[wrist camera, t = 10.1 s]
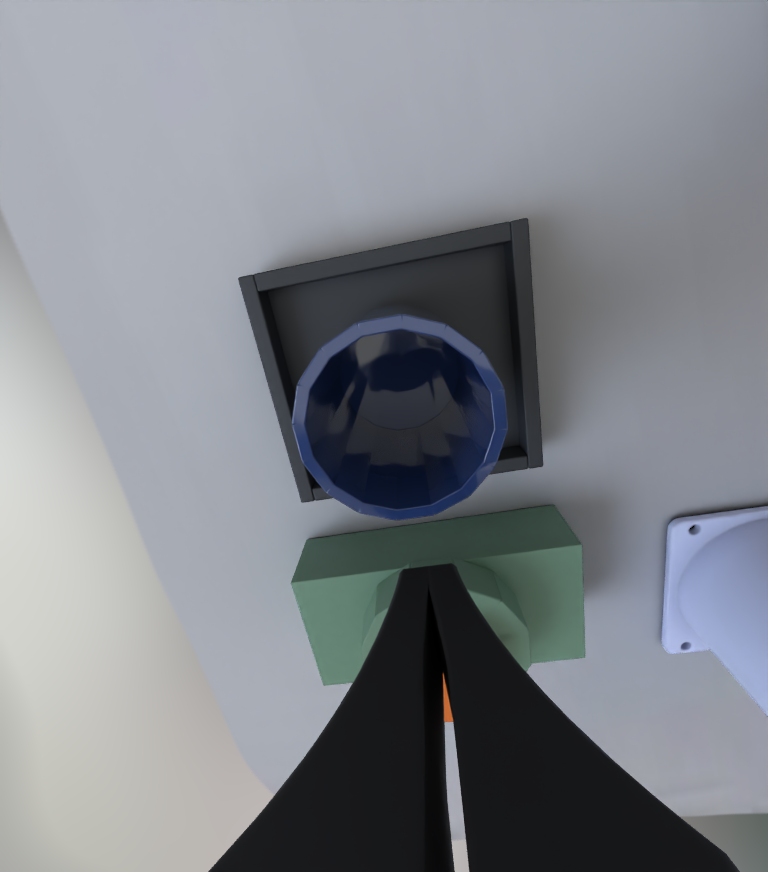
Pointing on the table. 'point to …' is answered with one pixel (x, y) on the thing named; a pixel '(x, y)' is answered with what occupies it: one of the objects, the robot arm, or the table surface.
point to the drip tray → (416, 285)
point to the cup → (399, 414)
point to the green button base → (479, 570)
